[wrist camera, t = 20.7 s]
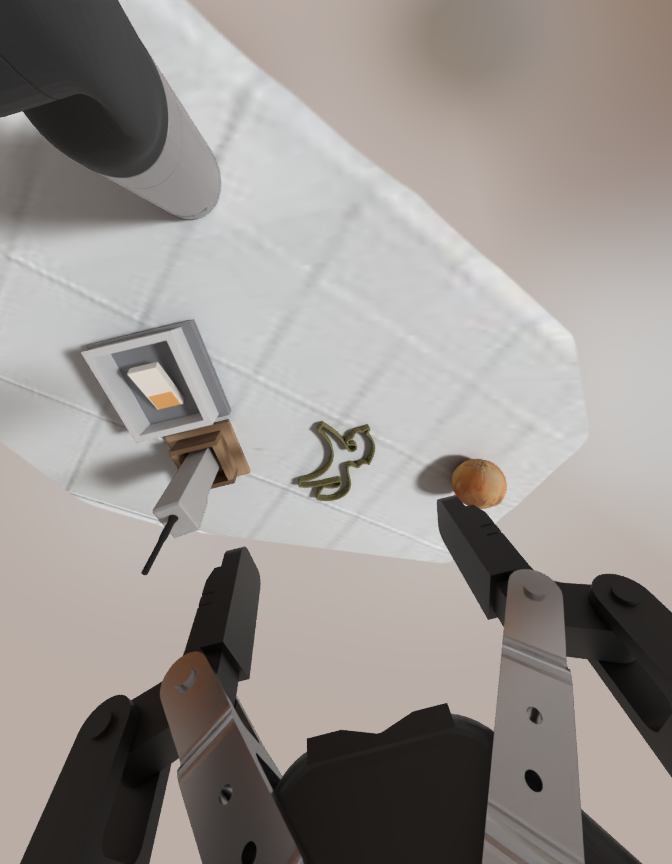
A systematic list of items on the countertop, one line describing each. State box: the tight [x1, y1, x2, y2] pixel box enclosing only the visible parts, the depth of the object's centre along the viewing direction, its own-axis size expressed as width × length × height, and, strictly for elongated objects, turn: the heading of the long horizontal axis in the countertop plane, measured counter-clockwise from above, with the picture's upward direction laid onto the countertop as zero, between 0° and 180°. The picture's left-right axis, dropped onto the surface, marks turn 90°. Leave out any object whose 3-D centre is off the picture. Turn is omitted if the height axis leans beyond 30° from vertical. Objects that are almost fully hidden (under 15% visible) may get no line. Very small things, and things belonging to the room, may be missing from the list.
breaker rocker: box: [127, 362, 184, 410], centre depth 44 cm, size 7×4×2 cm, turn 12°
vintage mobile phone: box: [142, 447, 222, 575], centre depth 42 cm, size 4×5×25 cm
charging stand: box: [165, 419, 250, 489], centre depth 52 cm, size 11×11×5 cm
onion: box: [451, 459, 507, 509], centre depth 58 cm, size 10×10×10 cm
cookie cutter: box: [299, 421, 375, 501], centre depth 57 cm, size 18×12×2 cm, turn 160°
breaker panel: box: [81, 320, 231, 443], centre depth 45 cm, size 15×15×6 cm
